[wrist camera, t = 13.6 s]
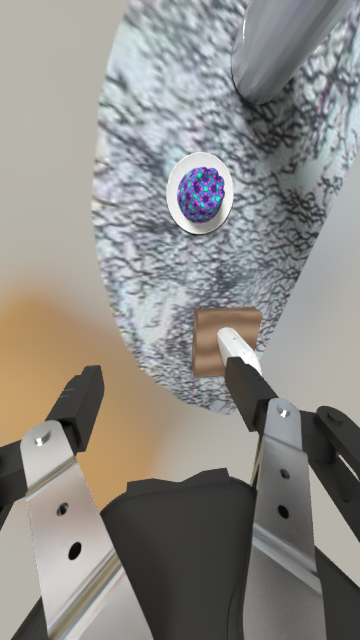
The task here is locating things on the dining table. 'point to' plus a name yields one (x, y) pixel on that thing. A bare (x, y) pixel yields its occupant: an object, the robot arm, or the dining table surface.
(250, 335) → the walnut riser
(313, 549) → the robot arm
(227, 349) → the photo printer
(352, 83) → the dining table surface
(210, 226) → the pudding
